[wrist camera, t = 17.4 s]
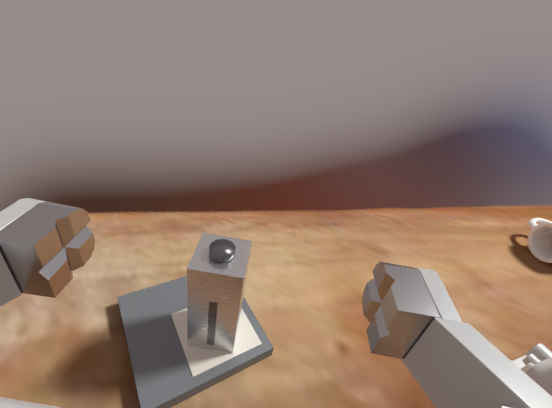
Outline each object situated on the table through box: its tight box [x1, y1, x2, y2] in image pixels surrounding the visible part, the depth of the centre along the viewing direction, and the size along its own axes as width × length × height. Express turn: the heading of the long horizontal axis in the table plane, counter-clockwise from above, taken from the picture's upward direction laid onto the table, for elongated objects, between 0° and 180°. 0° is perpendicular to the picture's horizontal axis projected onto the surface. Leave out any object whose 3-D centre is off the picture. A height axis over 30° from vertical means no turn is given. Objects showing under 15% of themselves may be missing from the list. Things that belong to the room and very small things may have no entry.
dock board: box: [117, 276, 273, 408], centre depth 35 cm, size 14×14×2 cm
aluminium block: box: [187, 233, 252, 353], centre depth 31 cm, size 5×5×13 cm
